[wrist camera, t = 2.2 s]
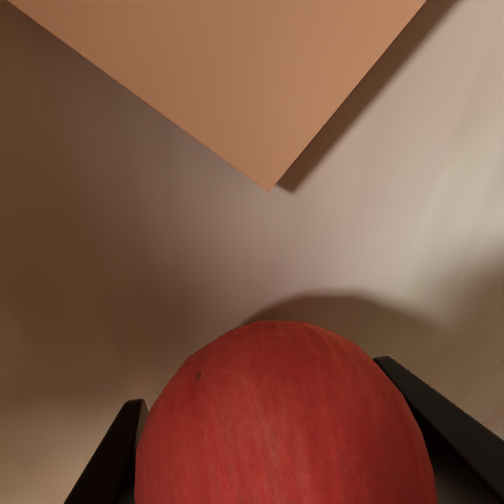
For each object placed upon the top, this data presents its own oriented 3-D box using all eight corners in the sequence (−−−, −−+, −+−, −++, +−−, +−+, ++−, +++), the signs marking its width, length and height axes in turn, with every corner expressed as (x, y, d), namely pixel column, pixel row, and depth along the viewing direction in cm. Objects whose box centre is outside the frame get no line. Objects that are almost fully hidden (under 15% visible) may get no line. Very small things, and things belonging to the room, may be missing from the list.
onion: (352, 364, 12) (574, 786, 5) (197, 416, 12) (212, 900, 5) (325, 225, 9) (809, 842, 2) (114, 297, 9) (-121, 1140, 2)
